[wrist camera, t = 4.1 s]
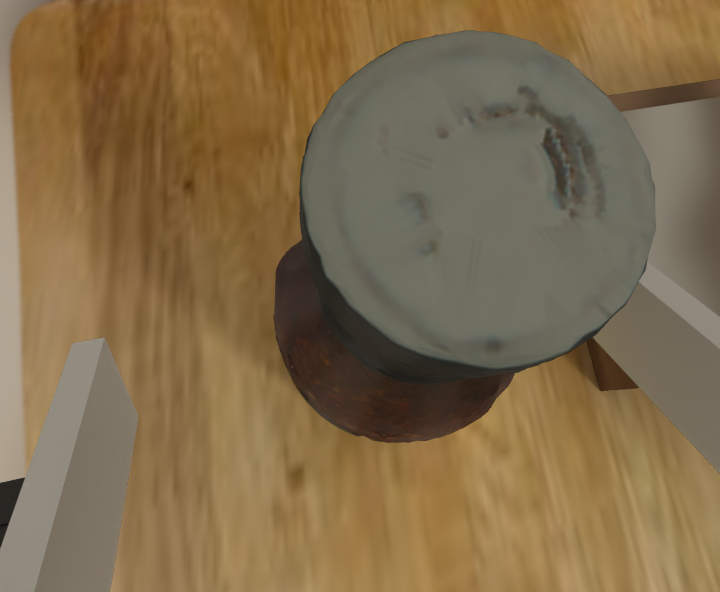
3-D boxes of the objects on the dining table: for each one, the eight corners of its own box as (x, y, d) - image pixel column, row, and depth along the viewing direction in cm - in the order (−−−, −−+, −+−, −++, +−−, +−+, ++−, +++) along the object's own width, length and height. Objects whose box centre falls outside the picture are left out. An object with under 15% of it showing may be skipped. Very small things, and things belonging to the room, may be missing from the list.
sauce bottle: (451, 318, 26) (850, 44, 7) (413, 451, 25) (780, 585, 5) (317, 274, 26) (333, -129, 7) (272, 405, 25) (127, 376, 5)
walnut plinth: (757, 100, 30) (809, 63, 27) (845, 337, 28) (914, 327, 24) (528, 135, 28) (555, 100, 25) (600, 391, 26) (640, 387, 23)
